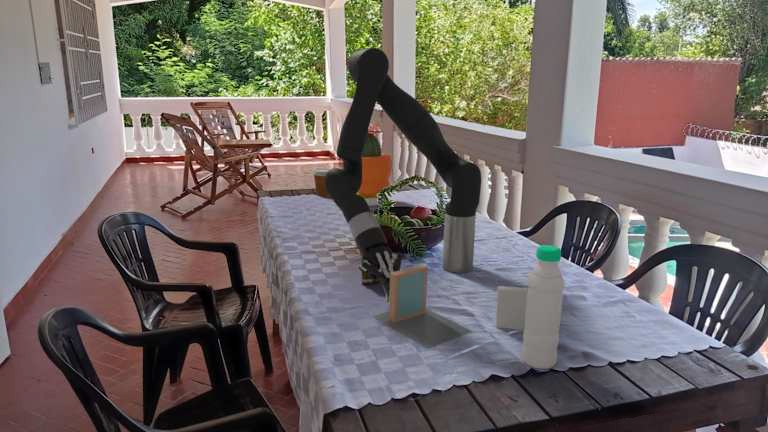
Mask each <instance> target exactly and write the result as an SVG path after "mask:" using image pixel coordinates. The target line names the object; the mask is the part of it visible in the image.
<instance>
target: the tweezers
mask: <svg viewBox="0 0 768 432" xmlns="http://www.w3.org/2000/svg"><path fill="white" fill-rule="evenodd" d="M379 284H380V285H381V286H382V288H383V291H384V294H385V297H386V298H385V303H388V302H389V299H388V294H387V291H386V288H385V284H384V283H383V284H382V281H381V282H380V283H379Z"/></svg>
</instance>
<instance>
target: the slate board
mask: <svg viewBox="0 0 768 432" xmlns="http://www.w3.org/2000/svg"><path fill="white" fill-rule="evenodd" d="M372 318H374V319H376V320H377V321H379V322H381V323H383V324H384V325H386V326H388V328H391V329H393V330H394V331H397V332H398V333H400V334H401V335H404V336H405V337H407V338H408V339H411V340H412V341H414V342H415V343H417V344H419V345H420V346H422V347H423V348H426V349H429V348H432V347H434V346H438V345H441V344H443V343H445V342H448V341H451V340H454V339H456V338H460V337H461V336H464V335H467V334H470V333H473V330H471V329H468V328H467V327H464V326H463V325H461V324H459V323H457V322H454V321H453V320H451V319H449V318H447V317H445V316H443V315H441V314H439V313H437V312H435V311H433V310H431V309H429V308H427V307H426V313H424V314H421V315H418V316H414V317H411V318H408V319H405V320H402V321H399V322H396V323H393V322H392V321H390V320H389V311H386V312H382V313H379V314H375V315H372Z"/></svg>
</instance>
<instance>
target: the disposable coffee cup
mask: <svg viewBox="0 0 768 432" xmlns="http://www.w3.org/2000/svg"><path fill="white" fill-rule="evenodd" d="M330 169H331V168H315V169H313V172H312V174H313V177H314V178H313V179H314V184H315V185H314V187H315V191H316V196H319V197H328V196H329V194H328V193H327V191H326V189H325V185H324V178H325V175H326V173H327V172H328V171H329V170H330Z"/></svg>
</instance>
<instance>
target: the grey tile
mask: <svg viewBox="0 0 768 432" xmlns="http://www.w3.org/2000/svg"><path fill="white" fill-rule="evenodd" d="M528 288H529V287H517V286H504V285H503V286H501V285H500V286H499V285H498V286H497V292H496V293H497V294H496V308H495V323H494V324H495V329H496V328H497V329H513V330H514V331H515V332H516V331H517V332H518V331H519V332H524V329H525V311H526V300H527V293H528Z"/></svg>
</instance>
